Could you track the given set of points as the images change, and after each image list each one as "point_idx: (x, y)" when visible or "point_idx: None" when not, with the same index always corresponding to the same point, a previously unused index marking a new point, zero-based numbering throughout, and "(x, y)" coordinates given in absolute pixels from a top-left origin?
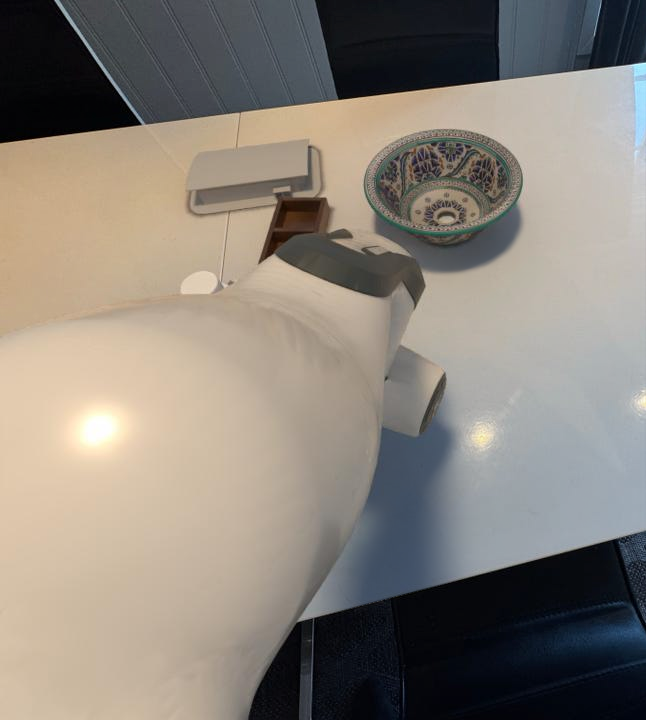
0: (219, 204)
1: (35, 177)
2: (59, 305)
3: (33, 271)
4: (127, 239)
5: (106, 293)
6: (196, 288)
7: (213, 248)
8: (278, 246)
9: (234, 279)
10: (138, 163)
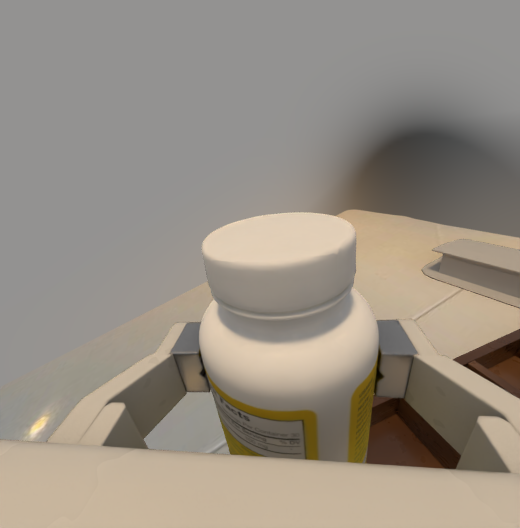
0: (455, 279)
1: (346, 219)
2: None
3: None
4: None
5: None
6: (256, 235)
7: (412, 305)
8: (511, 360)
9: (412, 325)
10: (409, 232)
